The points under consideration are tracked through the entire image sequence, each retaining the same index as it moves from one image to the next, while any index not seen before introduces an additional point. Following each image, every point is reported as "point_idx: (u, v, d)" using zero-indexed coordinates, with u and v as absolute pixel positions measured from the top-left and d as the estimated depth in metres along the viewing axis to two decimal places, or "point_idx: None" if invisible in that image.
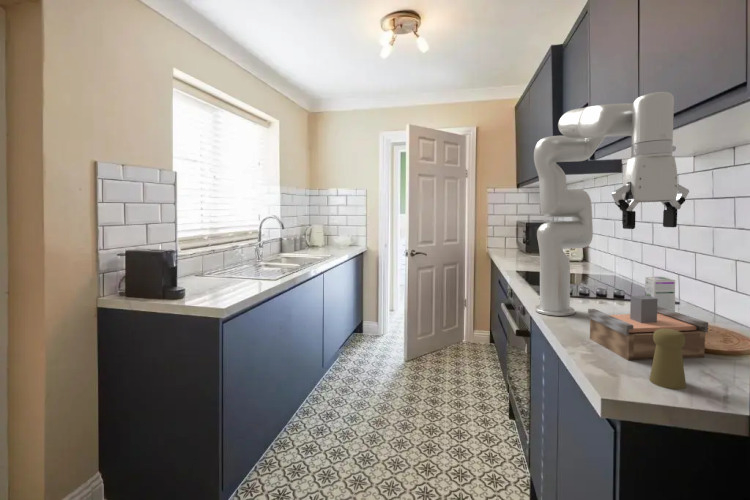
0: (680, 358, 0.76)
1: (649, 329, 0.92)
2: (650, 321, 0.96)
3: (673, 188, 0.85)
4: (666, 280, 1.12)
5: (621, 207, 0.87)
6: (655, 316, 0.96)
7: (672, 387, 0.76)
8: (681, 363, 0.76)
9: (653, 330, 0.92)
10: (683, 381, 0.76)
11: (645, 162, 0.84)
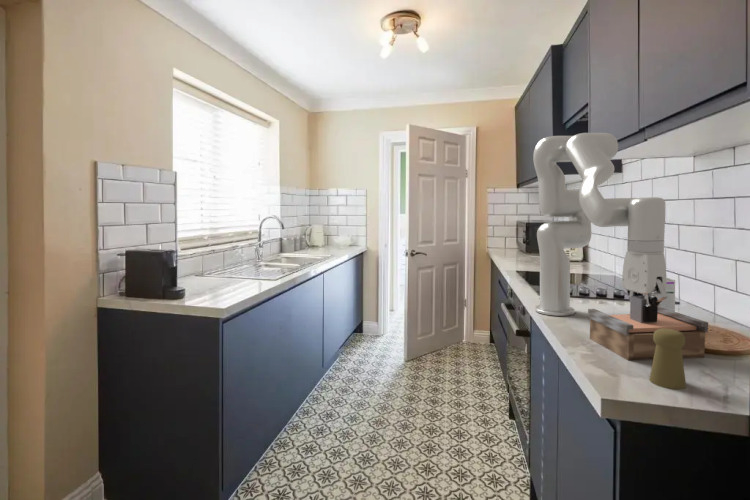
0: (680, 358, 0.76)
1: (649, 329, 0.92)
2: None
3: None
4: (666, 280, 1.12)
5: (656, 303, 0.94)
6: None
7: (672, 387, 0.76)
8: (681, 363, 0.76)
9: (653, 330, 0.92)
10: (683, 381, 0.76)
11: None
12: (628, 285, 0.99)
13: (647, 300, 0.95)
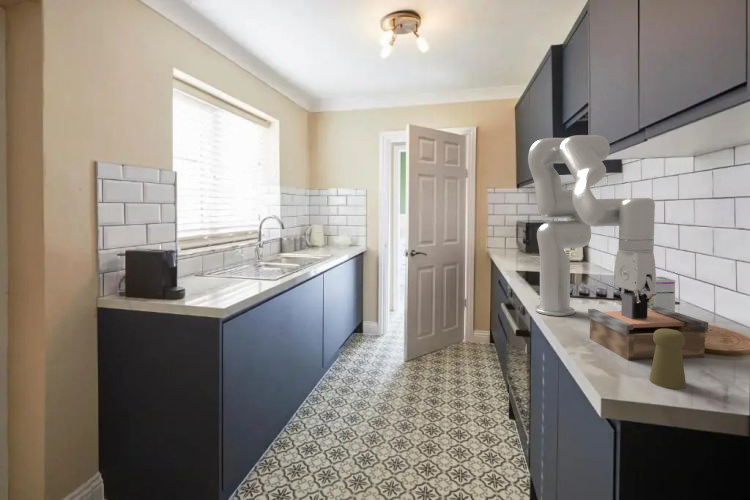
0: (680, 358, 0.76)
1: (639, 325, 0.96)
2: None
3: None
4: (666, 280, 1.12)
5: (645, 300, 0.97)
6: None
7: (672, 387, 0.76)
8: (681, 363, 0.76)
9: (643, 326, 0.96)
10: (683, 381, 0.76)
11: None
12: (619, 282, 1.03)
13: (637, 297, 0.98)
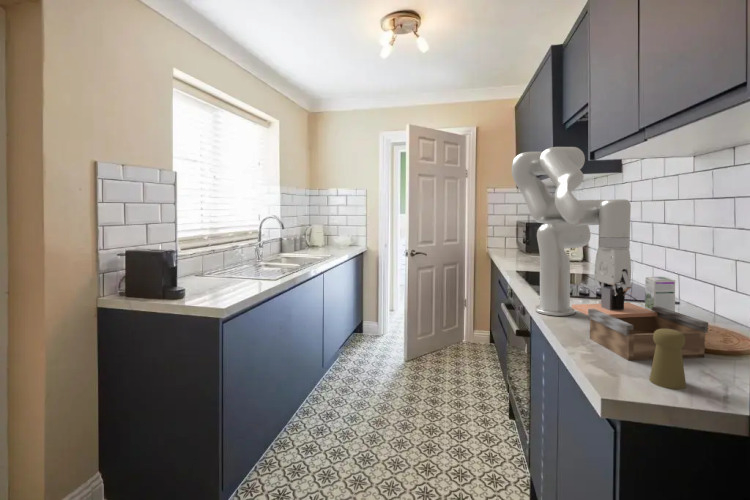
0: (680, 358, 0.76)
1: (616, 315, 1.05)
2: (618, 309, 1.09)
3: None
4: (666, 280, 1.12)
5: (622, 293, 1.06)
6: None
7: (672, 387, 0.76)
8: (681, 363, 0.76)
9: (619, 316, 1.05)
10: (683, 381, 0.76)
11: None
12: (599, 277, 1.12)
13: (615, 290, 1.07)
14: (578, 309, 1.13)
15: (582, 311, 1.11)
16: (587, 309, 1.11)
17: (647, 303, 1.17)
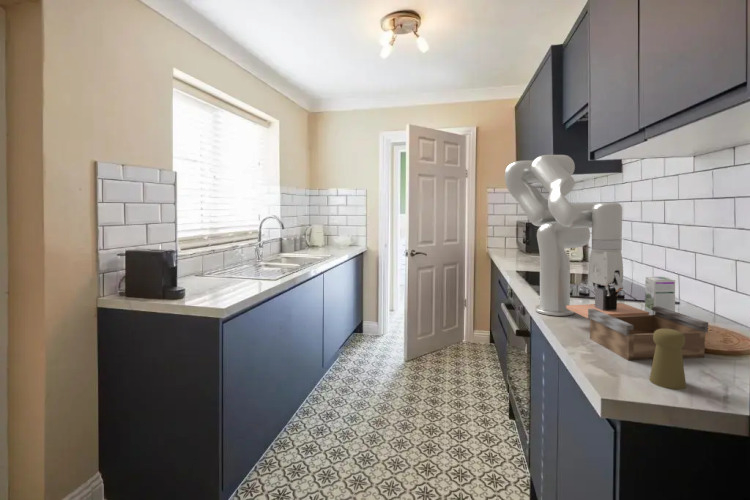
0: (680, 358, 0.76)
1: None
2: None
3: None
4: (666, 280, 1.12)
5: (614, 293, 1.09)
6: None
7: (672, 387, 0.76)
8: (681, 363, 0.76)
9: (612, 316, 1.08)
10: (683, 381, 0.76)
11: None
12: (592, 278, 1.15)
13: (607, 291, 1.10)
14: (572, 309, 1.16)
15: (576, 311, 1.14)
16: (581, 309, 1.14)
17: (647, 303, 1.17)
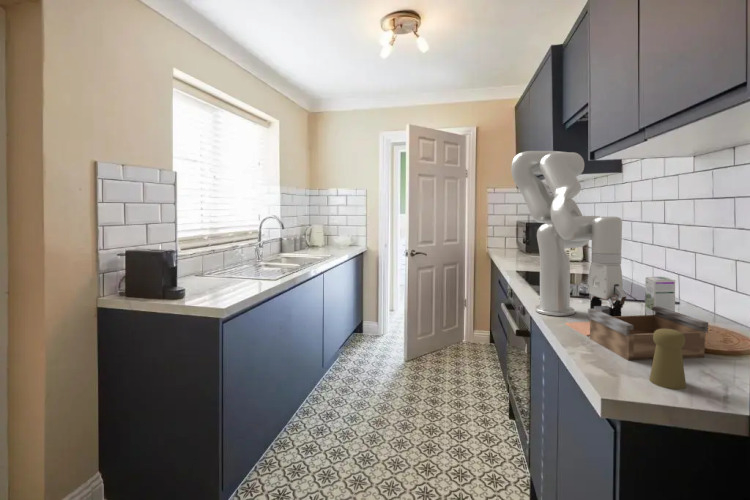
0: (680, 358, 0.76)
1: None
2: None
3: None
4: (666, 280, 1.12)
5: (619, 305, 1.08)
6: None
7: (672, 387, 0.76)
8: (681, 363, 0.76)
9: None
10: (683, 381, 0.76)
11: None
12: (592, 291, 1.16)
13: (611, 302, 1.09)
14: (571, 327, 1.17)
15: None
16: (580, 328, 1.15)
17: (647, 303, 1.17)
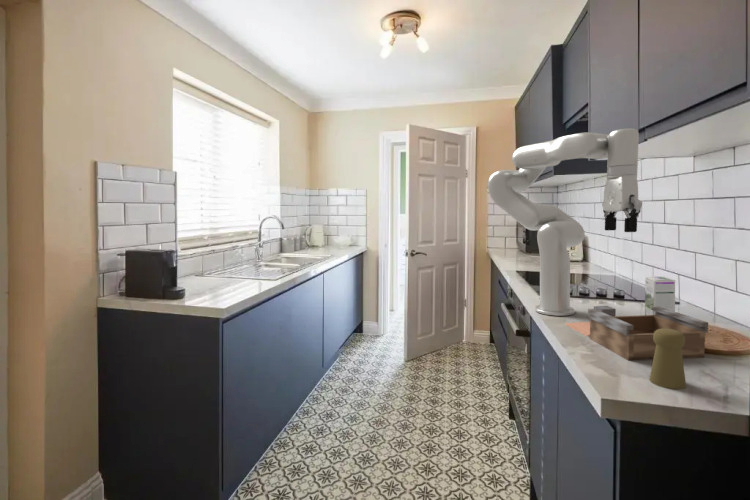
0: (680, 358, 0.76)
1: None
2: None
3: None
4: (666, 280, 1.12)
5: (635, 214, 1.08)
6: None
7: (672, 387, 0.76)
8: (681, 363, 0.76)
9: None
10: (683, 381, 0.76)
11: None
12: (607, 206, 1.16)
13: (626, 212, 1.09)
14: None
15: None
16: (580, 328, 1.15)
17: (647, 303, 1.17)
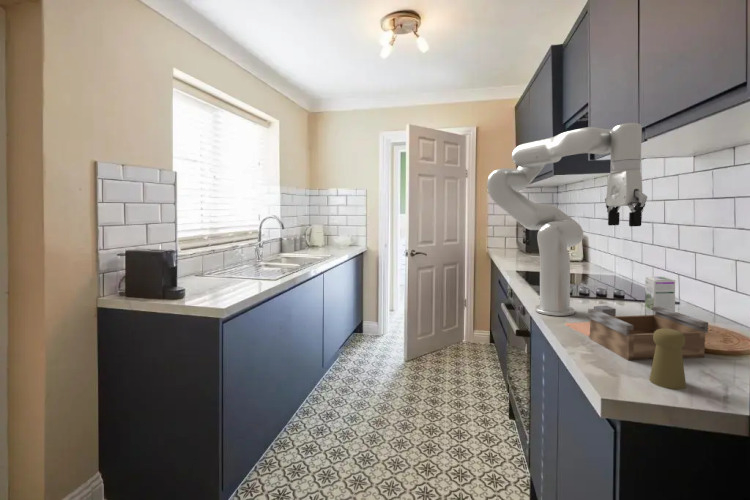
0: (680, 358, 0.76)
1: None
2: None
3: None
4: (666, 280, 1.12)
5: (640, 208, 1.08)
6: None
7: (672, 387, 0.76)
8: (681, 363, 0.76)
9: None
10: (683, 381, 0.76)
11: None
12: (611, 201, 1.16)
13: (631, 207, 1.09)
14: None
15: None
16: (581, 328, 1.14)
17: (647, 303, 1.17)
